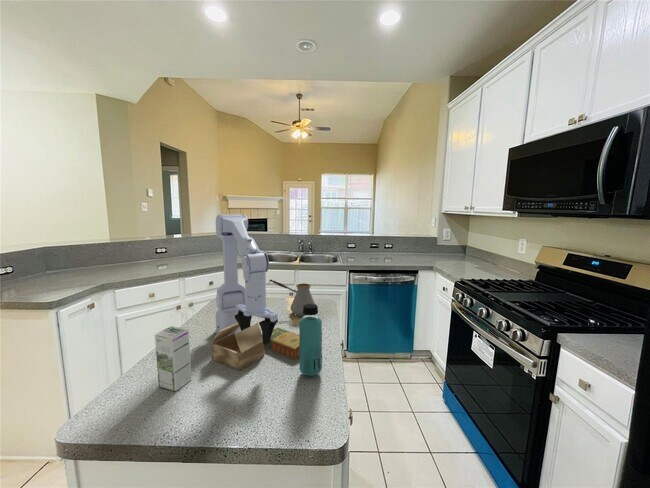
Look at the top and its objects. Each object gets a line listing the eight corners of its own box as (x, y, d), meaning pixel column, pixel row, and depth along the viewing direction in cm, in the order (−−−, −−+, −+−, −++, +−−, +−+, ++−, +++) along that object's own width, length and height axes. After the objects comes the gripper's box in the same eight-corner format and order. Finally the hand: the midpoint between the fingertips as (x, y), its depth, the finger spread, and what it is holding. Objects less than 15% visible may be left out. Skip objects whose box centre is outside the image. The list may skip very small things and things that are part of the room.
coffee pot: (317, 309, 131) (318, 277, 130) (314, 319, 120) (314, 284, 118) (272, 307, 133) (272, 276, 132) (265, 316, 122) (264, 282, 120)
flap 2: (234, 334, 82) (235, 333, 81) (256, 323, 89) (257, 323, 89) (241, 352, 81) (242, 352, 81) (263, 340, 89) (264, 340, 88)
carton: (294, 361, 87) (294, 348, 87) (259, 346, 97) (259, 334, 96) (312, 350, 94) (312, 338, 93) (277, 337, 103) (277, 326, 103)
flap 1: (212, 342, 87) (211, 341, 87) (235, 332, 95) (234, 330, 95) (220, 331, 85) (219, 330, 85) (242, 321, 92) (241, 320, 93)
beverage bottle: (313, 384, 75) (314, 311, 73) (293, 376, 79) (293, 306, 76) (326, 372, 81) (327, 304, 78) (307, 365, 84) (307, 299, 82)
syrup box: (192, 379, 77) (189, 328, 75) (174, 392, 71) (171, 337, 70) (176, 375, 79) (173, 325, 77) (157, 388, 73) (153, 333, 71)
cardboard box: (211, 359, 87) (211, 343, 87) (237, 346, 96) (236, 331, 95) (240, 370, 81) (239, 354, 81) (264, 355, 90) (263, 340, 89)
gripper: (227, 294, 82) (228, 338, 84) (265, 302, 75) (265, 351, 77) (245, 288, 88) (246, 330, 90) (282, 296, 81) (282, 341, 83)
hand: (256, 339), depth 84 cm, fingers open, 7 cm apart
